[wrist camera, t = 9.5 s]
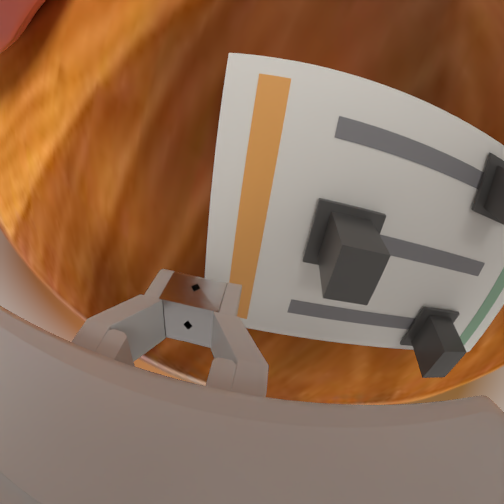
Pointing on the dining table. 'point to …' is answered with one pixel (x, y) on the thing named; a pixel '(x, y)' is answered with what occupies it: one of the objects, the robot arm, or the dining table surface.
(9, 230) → the dining table surface
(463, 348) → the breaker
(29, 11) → the cell model
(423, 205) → the panel
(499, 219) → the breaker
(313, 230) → the breaker
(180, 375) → the dining table surface
